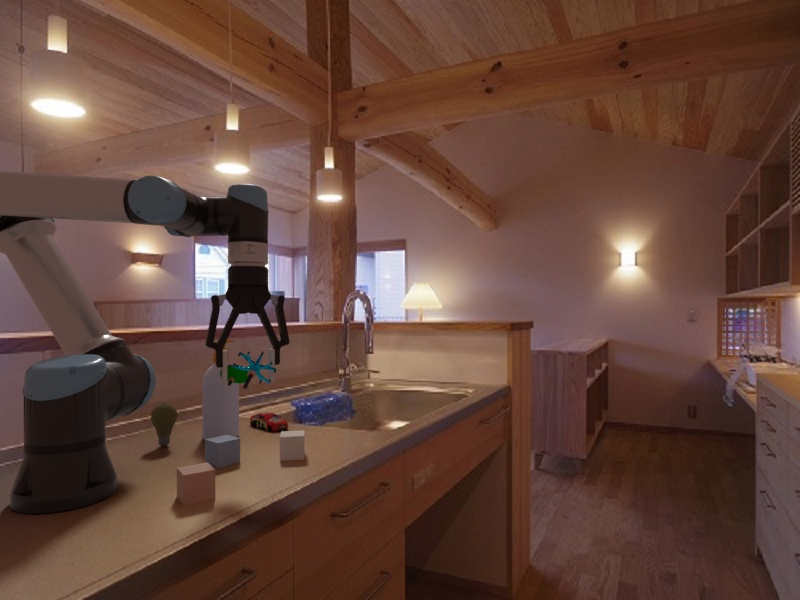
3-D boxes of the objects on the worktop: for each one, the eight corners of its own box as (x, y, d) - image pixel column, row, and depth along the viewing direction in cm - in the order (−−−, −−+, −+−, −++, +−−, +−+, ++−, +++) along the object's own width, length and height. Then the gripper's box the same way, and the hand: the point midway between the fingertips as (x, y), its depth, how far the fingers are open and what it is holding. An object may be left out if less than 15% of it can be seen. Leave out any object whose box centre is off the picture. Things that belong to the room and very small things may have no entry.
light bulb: (177, 448, 117) (176, 404, 118) (149, 451, 115) (149, 406, 115) (177, 442, 123) (177, 400, 123) (151, 445, 120) (151, 402, 121)
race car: (291, 430, 135) (291, 415, 135) (273, 434, 131) (273, 418, 131) (265, 423, 144) (265, 408, 144) (247, 426, 140) (247, 411, 140)
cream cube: (279, 461, 107) (279, 437, 107) (281, 454, 112) (281, 431, 112) (304, 459, 108) (304, 435, 108) (304, 453, 113) (304, 430, 113)
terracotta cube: (183, 506, 83) (183, 475, 83) (176, 497, 87) (176, 467, 87) (215, 499, 86) (215, 469, 86) (207, 491, 90) (207, 462, 90)
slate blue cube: (217, 468, 103) (217, 443, 103) (204, 463, 106) (204, 439, 106) (240, 462, 106) (240, 438, 106) (227, 458, 110) (226, 434, 110)
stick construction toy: (285, 371, 101) (264, 342, 97) (274, 397, 95) (251, 366, 91) (235, 386, 104) (212, 358, 101) (221, 411, 99) (197, 383, 95)
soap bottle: (247, 433, 131) (247, 339, 132) (225, 442, 122) (225, 341, 123) (218, 431, 134) (218, 339, 134) (194, 440, 125) (194, 341, 125)
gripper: (191, 262, 92) (190, 389, 92) (306, 266, 101) (306, 382, 101) (189, 265, 99) (189, 384, 99) (297, 268, 108) (297, 377, 108)
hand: (248, 383), depth 100 cm, fingers closed on stick construction toy, 8 cm apart
